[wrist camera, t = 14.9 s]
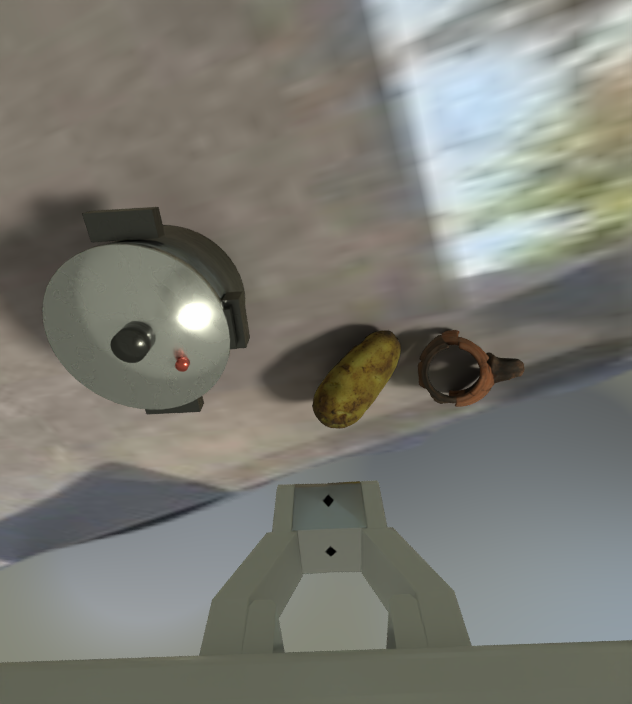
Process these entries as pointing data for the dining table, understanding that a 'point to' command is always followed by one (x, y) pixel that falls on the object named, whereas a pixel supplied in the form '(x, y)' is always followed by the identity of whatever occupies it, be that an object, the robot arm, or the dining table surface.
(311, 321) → the dining table surface
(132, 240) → the pot
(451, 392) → the pottery mug
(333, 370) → the potato
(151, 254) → the lid
